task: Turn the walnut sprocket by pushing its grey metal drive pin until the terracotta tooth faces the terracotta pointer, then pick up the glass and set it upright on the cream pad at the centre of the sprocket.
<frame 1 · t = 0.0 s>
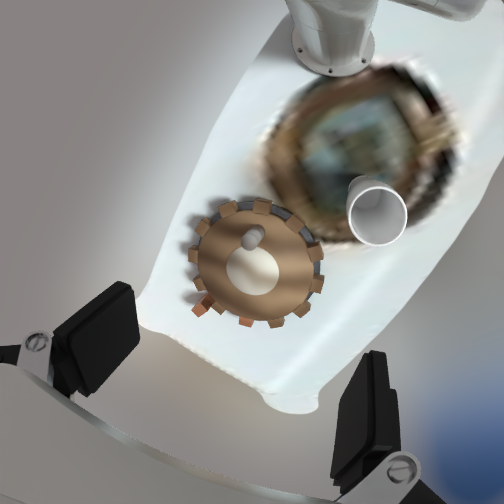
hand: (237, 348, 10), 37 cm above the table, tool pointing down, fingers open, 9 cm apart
sprocket: (249, 275, 46), point 5 cm above the table, hinge at 0.0°
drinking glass: (364, 191, 41), on the table
sprocket stand: (257, 262, 51), on the table
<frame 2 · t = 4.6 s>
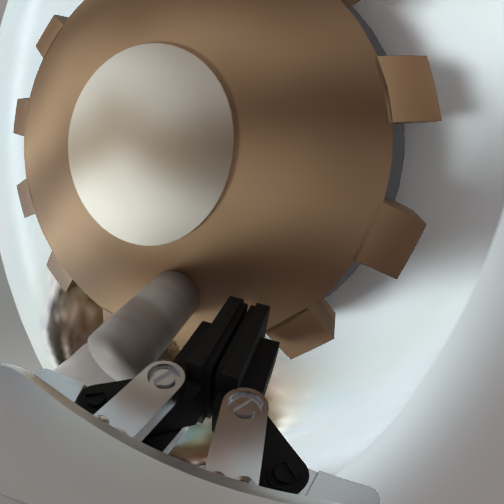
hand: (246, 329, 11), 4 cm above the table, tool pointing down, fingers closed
sprocket: (111, 148, 9), point 5 cm above the table, hinge at -2.0°, touching gripper
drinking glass: (106, 360, 24), on the table
sprocket stand: (173, 140, 14), on the table
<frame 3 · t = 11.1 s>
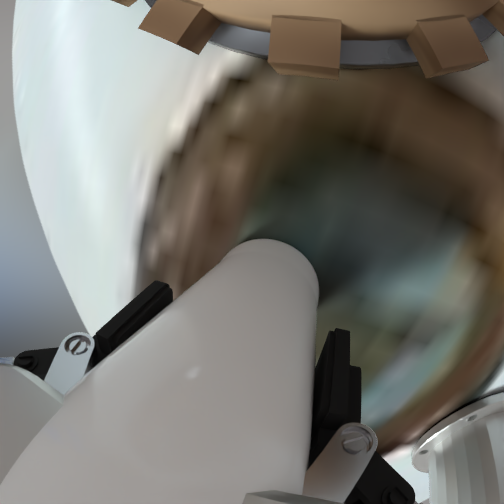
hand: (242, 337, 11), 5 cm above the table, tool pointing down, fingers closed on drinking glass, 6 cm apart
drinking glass: (270, 281, 15), on the table, touching gripper
when the fingers open (9 cm above the table, at t = 17.4 s): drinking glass drops 1 cm, resting on sprocket.
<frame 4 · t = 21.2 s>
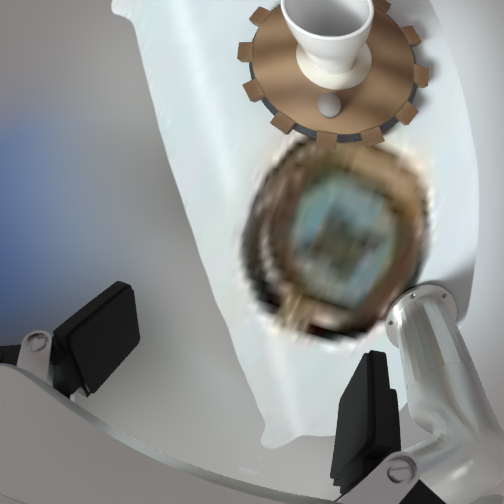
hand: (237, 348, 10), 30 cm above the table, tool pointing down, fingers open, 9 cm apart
sprocket: (333, 52, 25), point 5 cm above the table, hinge at -40.8°, touching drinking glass
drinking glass: (332, 56, 27), point 3 cm above the table, touching sprocket
sprocket stand: (334, 62, 29), on the table
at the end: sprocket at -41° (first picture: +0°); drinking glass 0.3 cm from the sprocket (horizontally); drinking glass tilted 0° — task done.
